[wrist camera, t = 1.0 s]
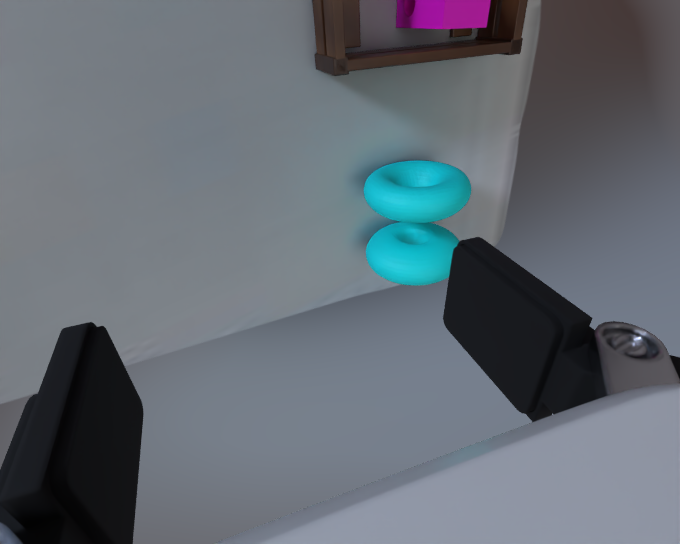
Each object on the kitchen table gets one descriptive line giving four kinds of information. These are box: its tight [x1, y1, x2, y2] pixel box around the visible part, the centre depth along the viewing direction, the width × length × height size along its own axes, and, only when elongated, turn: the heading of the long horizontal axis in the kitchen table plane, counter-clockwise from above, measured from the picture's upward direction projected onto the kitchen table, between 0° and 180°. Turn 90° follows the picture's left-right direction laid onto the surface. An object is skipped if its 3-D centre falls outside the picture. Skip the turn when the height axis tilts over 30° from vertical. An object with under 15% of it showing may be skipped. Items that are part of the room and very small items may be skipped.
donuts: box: [364, 160, 471, 285], centre depth 39 cm, size 10×10×10 cm
